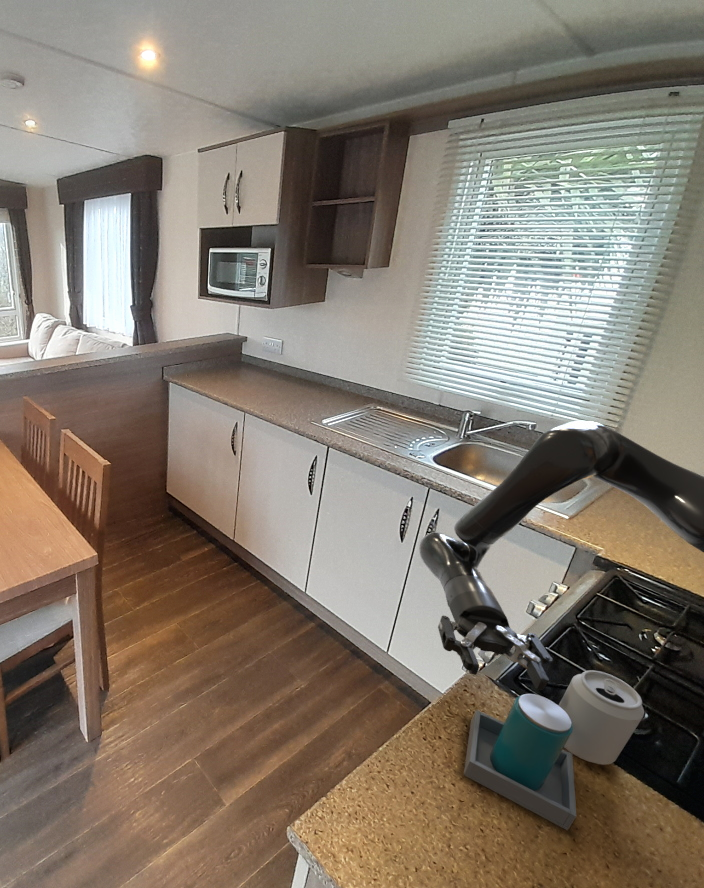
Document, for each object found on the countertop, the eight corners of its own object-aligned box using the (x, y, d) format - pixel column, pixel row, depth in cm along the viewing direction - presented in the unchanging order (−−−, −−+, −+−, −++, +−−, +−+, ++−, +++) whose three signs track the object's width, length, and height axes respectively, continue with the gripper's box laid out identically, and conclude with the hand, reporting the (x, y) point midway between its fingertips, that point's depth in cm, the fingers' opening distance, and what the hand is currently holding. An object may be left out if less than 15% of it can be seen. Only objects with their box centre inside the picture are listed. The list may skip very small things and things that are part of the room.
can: (545, 745, 72) (575, 689, 67) (548, 711, 77) (576, 656, 72) (614, 779, 67) (651, 722, 62) (613, 741, 72) (647, 685, 67)
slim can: (542, 765, 69) (573, 708, 64) (543, 800, 64) (576, 742, 60) (491, 740, 72) (516, 684, 67) (488, 772, 68) (515, 714, 63)
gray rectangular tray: (564, 767, 69) (572, 753, 68) (567, 830, 62) (576, 816, 60) (470, 722, 75) (476, 709, 74) (463, 775, 68) (469, 761, 67)
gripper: (434, 582, 88) (460, 648, 74) (527, 598, 83) (575, 673, 69) (424, 613, 91) (447, 683, 77) (514, 631, 86) (556, 708, 72)
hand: (508, 678), depth 73 cm, fingers open, 8 cm apart
